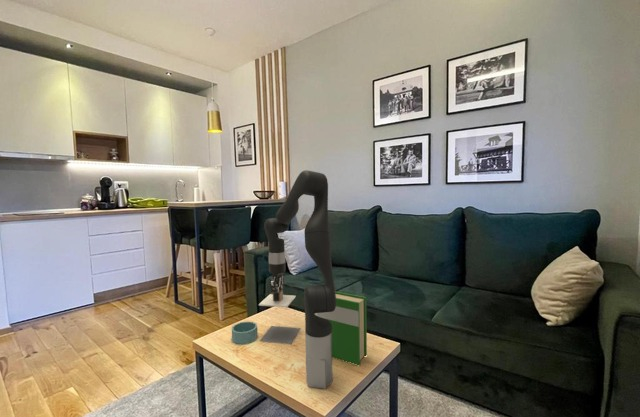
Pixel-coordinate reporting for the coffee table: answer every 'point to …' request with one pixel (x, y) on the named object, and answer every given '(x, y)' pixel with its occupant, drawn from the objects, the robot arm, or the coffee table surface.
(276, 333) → the rubber mat
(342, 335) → the hardback book
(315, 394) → the coffee table surface
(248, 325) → the teal pet bowl
